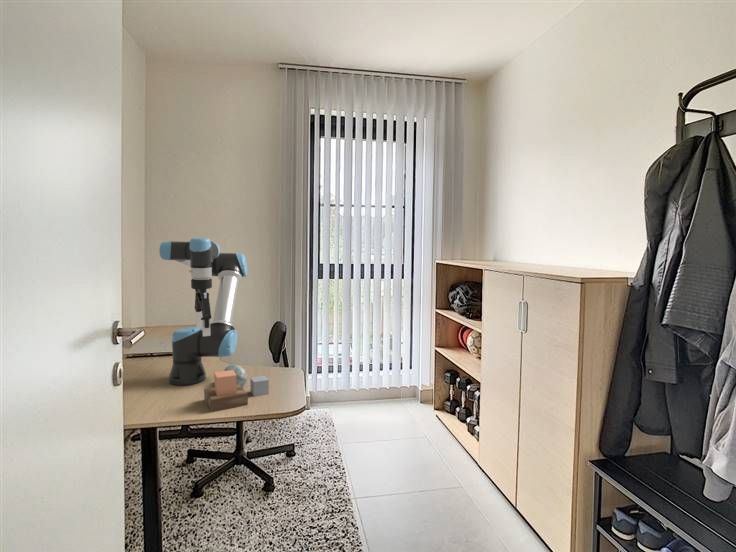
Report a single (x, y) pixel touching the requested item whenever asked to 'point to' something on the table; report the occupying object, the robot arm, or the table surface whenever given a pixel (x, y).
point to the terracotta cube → (225, 382)
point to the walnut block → (225, 399)
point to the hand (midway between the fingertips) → (203, 331)
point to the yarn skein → (238, 373)
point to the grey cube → (259, 385)
